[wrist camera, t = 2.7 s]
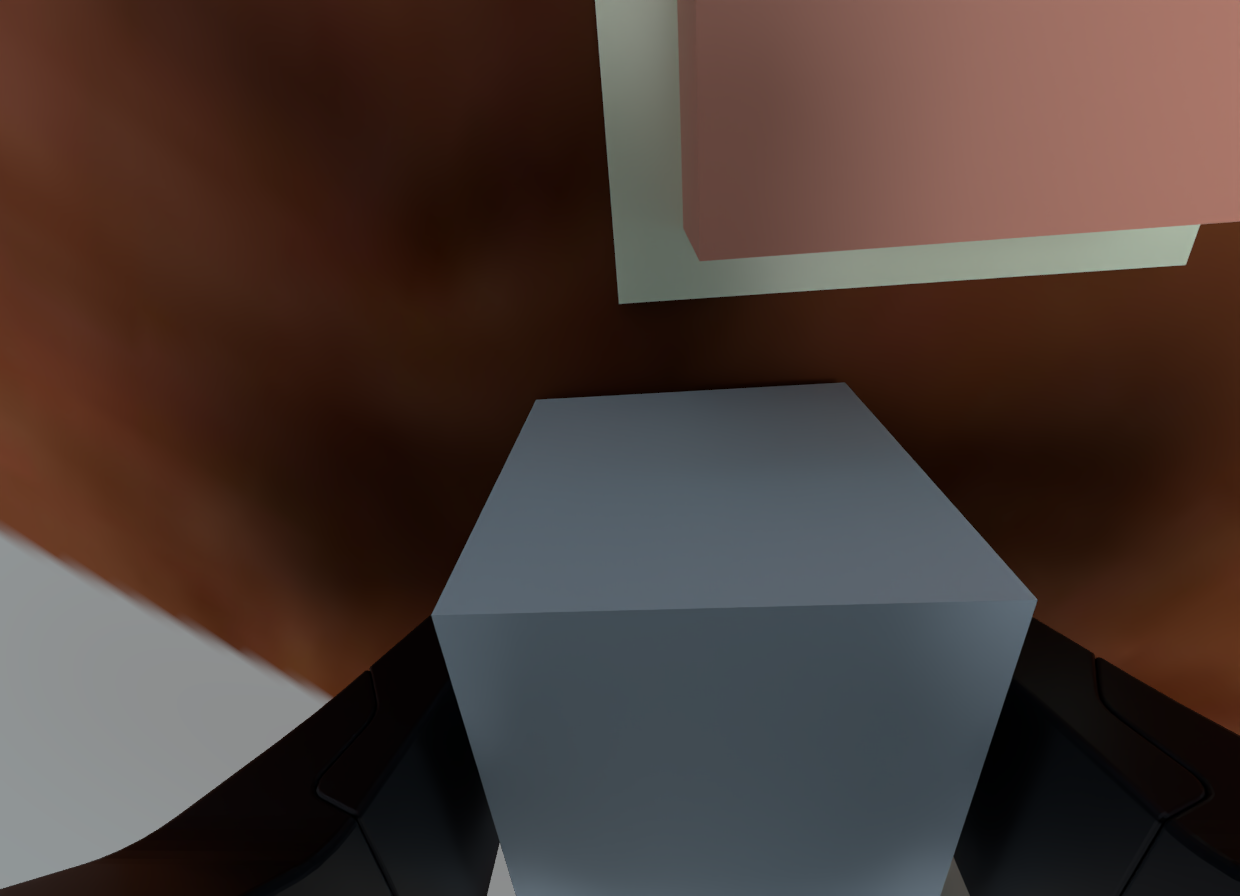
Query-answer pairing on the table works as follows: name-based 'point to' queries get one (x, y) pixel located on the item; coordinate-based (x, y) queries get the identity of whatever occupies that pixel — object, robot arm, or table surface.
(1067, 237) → the baseplate
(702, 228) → the brick red base
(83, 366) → the table surface
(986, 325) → the table surface
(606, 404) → the cube blue
